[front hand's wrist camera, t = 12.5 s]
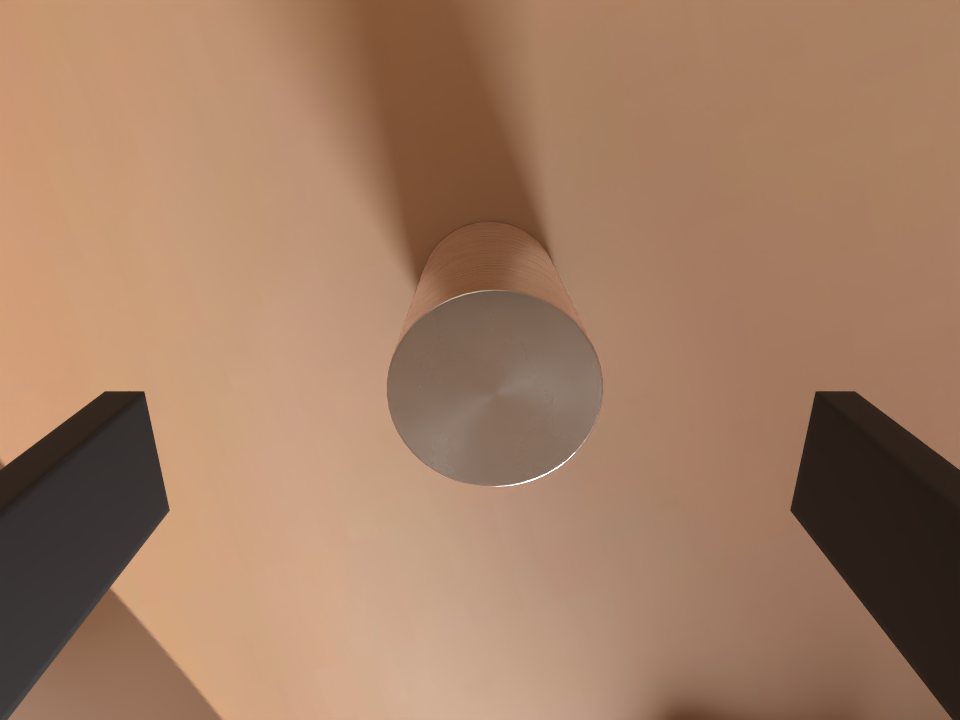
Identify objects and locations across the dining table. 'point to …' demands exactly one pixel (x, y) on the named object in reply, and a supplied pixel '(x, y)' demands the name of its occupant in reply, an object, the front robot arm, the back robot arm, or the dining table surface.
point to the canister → (493, 362)
